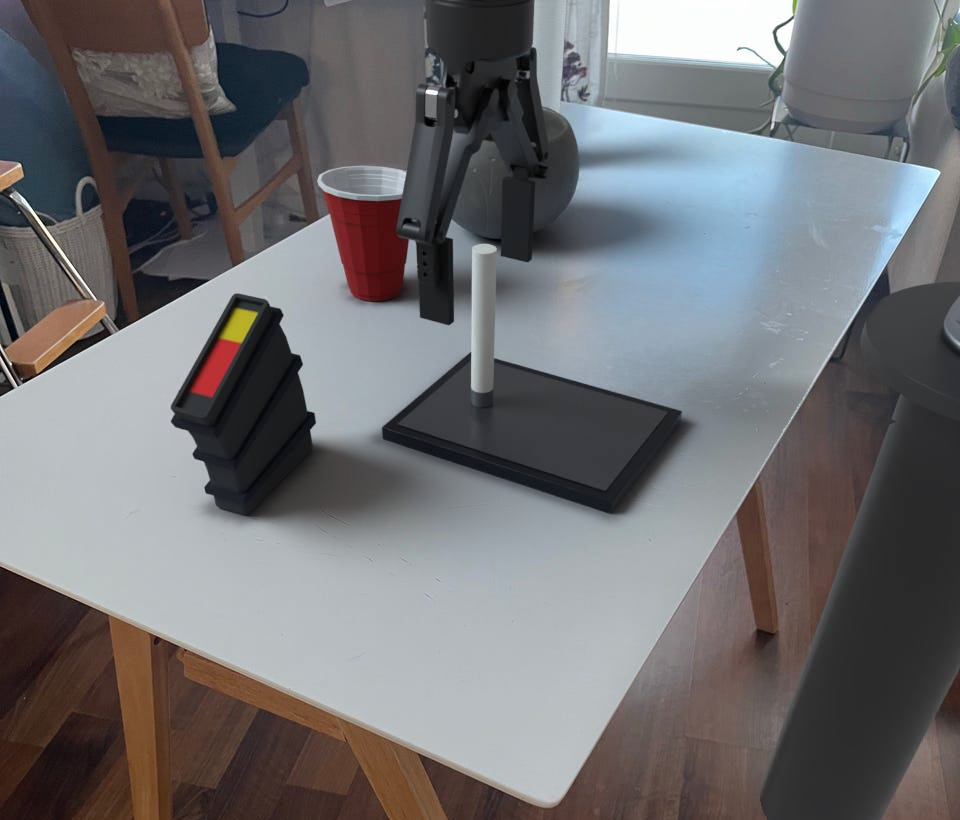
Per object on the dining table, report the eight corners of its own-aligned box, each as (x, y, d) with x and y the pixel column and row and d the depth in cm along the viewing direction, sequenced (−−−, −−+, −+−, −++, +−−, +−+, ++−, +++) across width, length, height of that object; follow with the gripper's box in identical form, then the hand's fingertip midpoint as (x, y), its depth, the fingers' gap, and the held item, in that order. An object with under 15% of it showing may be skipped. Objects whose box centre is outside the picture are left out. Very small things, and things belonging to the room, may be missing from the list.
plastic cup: (445, 284, 108) (443, 171, 100) (388, 320, 102) (381, 203, 93) (367, 261, 112) (360, 151, 104) (308, 295, 106) (294, 180, 97)
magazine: (334, 415, 85) (275, 297, 71) (271, 543, 81) (195, 444, 67) (297, 406, 86) (232, 288, 72) (233, 531, 82) (151, 432, 68)
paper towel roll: (508, 153, 140) (514, -24, 125) (550, 152, 140) (560, -23, 125) (513, 170, 135) (519, -12, 120) (556, 170, 135) (567, -12, 120)
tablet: (680, 422, 88) (682, 409, 87) (610, 513, 78) (612, 500, 77) (470, 362, 96) (470, 350, 95) (382, 438, 86) (381, 426, 85)
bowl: (517, 193, 129) (521, 87, 120) (604, 238, 118) (615, 126, 109) (403, 221, 121) (398, 110, 112) (484, 272, 111) (486, 154, 102)
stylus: (496, 400, 88) (501, 246, 78) (486, 410, 87) (489, 255, 77) (477, 394, 89) (479, 241, 79) (466, 404, 87) (467, 250, 78)
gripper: (515, -50, 75) (508, 227, 90) (328, 15, 59) (357, 338, 74) (604, -40, 72) (582, 243, 87) (432, 30, 57) (441, 361, 71)
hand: (478, 287), depth 81 cm, fingers open, 13 cm apart
